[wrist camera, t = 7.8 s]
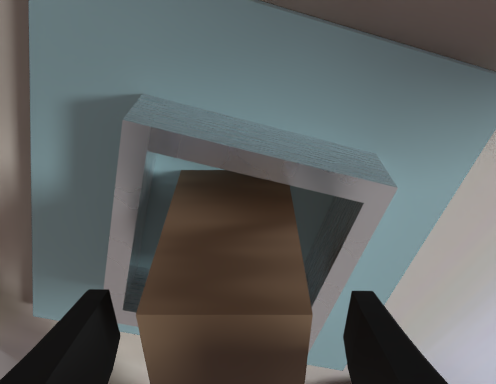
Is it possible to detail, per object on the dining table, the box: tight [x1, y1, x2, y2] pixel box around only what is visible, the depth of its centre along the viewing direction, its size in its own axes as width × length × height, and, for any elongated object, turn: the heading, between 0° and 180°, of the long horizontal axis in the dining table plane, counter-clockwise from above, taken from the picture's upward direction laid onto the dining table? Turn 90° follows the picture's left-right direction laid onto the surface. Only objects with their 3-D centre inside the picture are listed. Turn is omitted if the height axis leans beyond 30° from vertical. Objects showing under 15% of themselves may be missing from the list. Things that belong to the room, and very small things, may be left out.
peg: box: [136, 170, 313, 384], centre depth 13 cm, size 4×4×7 cm
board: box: [29, 0, 496, 371], centre depth 17 cm, size 16×16×1 cm
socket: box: [104, 94, 398, 353], centre depth 15 cm, size 9×9×2 cm
